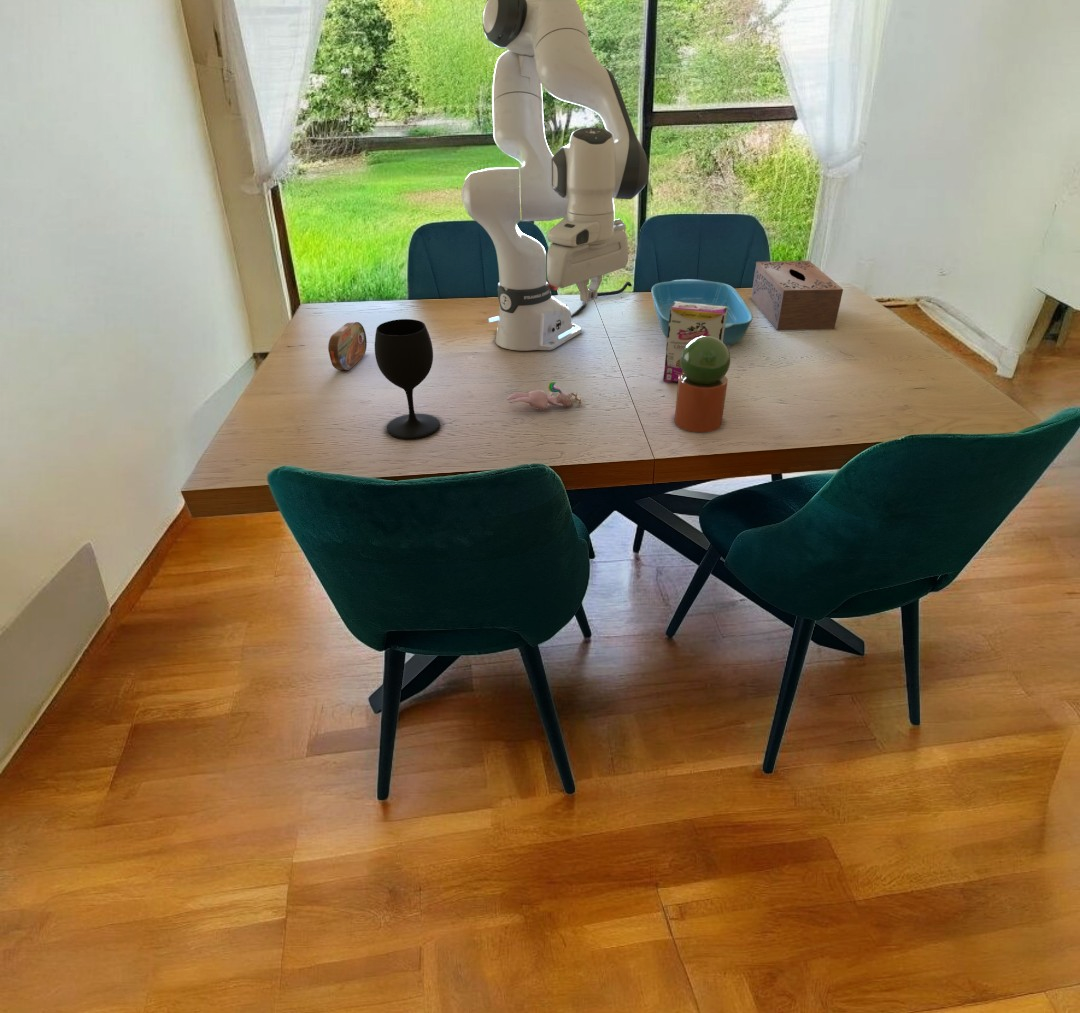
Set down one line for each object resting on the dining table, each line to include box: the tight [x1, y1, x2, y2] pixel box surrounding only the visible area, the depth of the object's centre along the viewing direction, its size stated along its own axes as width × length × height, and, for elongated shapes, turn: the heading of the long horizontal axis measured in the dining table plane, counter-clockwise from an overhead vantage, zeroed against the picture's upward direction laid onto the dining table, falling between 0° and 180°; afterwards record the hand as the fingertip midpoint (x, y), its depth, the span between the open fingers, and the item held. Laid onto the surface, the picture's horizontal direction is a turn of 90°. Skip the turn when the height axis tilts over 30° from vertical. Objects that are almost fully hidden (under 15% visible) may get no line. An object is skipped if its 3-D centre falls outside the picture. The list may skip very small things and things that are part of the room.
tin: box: [327, 321, 368, 371], centre depth 165 cm, size 15×3×8 cm, turn 168°
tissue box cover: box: [750, 260, 844, 331], centre depth 188 cm, size 26×14×10 cm, turn 0°
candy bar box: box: [663, 301, 727, 384], centre depth 151 cm, size 11×5×16 cm, turn 71°
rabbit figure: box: [506, 381, 582, 411], centre depth 144 cm, size 6×6×15 cm
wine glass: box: [374, 318, 441, 441], centre depth 134 cm, size 10×10×20 cm
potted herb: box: [674, 336, 731, 433], centre depth 135 cm, size 9×9×17 cm
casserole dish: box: [651, 278, 754, 347], centre depth 181 cm, size 37×22×7 cm, turn 179°
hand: (588, 299), depth 142 cm, fingers closed
